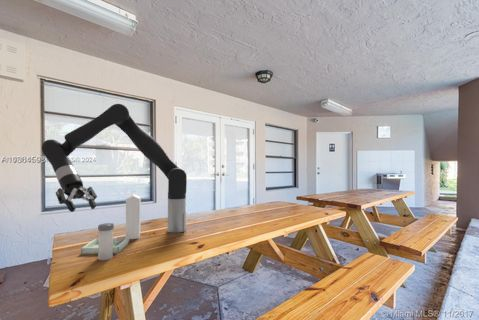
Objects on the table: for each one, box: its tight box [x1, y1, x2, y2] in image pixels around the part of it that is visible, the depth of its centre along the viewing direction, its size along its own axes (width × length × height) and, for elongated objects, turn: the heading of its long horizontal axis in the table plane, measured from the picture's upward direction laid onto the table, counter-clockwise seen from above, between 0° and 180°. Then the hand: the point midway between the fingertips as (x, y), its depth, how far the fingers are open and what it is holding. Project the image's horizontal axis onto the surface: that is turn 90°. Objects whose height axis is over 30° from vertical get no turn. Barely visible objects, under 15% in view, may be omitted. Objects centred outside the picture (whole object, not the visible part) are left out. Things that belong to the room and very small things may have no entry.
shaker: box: [97, 222, 115, 261], centre depth 92 cm, size 5×5×12 cm
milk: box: [125, 191, 142, 240], centre depth 118 cm, size 6×6×22 cm
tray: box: [80, 237, 130, 256], centre depth 102 cm, size 14×12×2 cm
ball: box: [115, 236, 123, 245], centre depth 105 cm, size 3×3×3 cm
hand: (84, 209), depth 99 cm, fingers open, 8 cm apart
